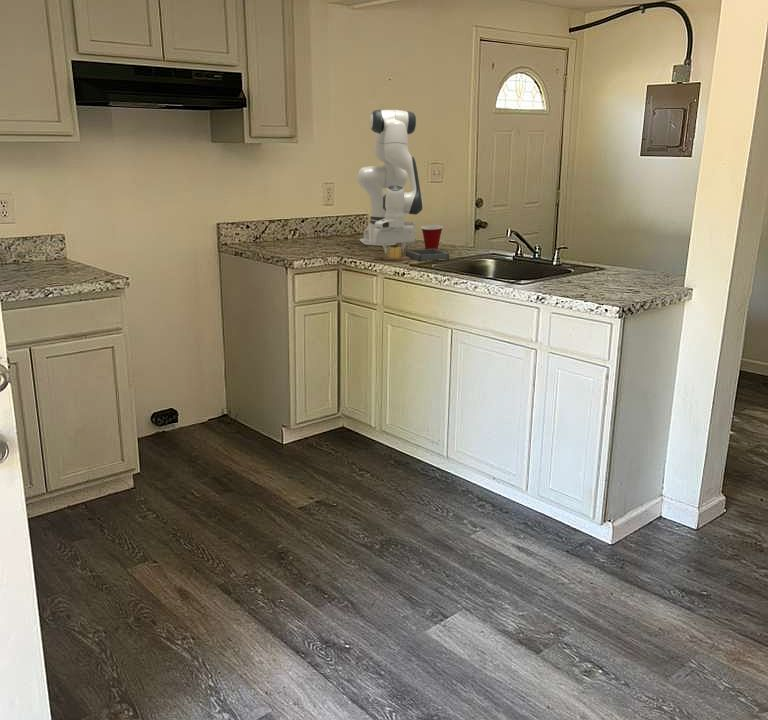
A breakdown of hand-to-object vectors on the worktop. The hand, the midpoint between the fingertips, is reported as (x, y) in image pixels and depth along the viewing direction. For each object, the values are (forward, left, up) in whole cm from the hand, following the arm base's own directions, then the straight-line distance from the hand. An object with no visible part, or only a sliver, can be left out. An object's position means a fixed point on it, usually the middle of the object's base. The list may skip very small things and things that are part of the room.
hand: (394, 253), depth 349 cm
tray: (+4, +15, -3) cm, 16 cm away
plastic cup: (-15, +27, -3) cm, 31 cm away
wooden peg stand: (0, 0, -3) cm, 3 cm away
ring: (0, 0, -2) cm, 2 cm away
